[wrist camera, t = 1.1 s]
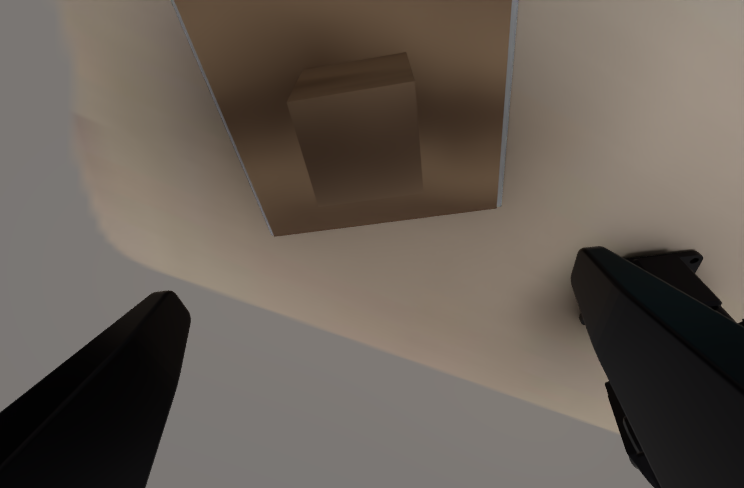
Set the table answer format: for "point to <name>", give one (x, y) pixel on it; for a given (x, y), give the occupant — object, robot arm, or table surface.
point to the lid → (359, 104)
